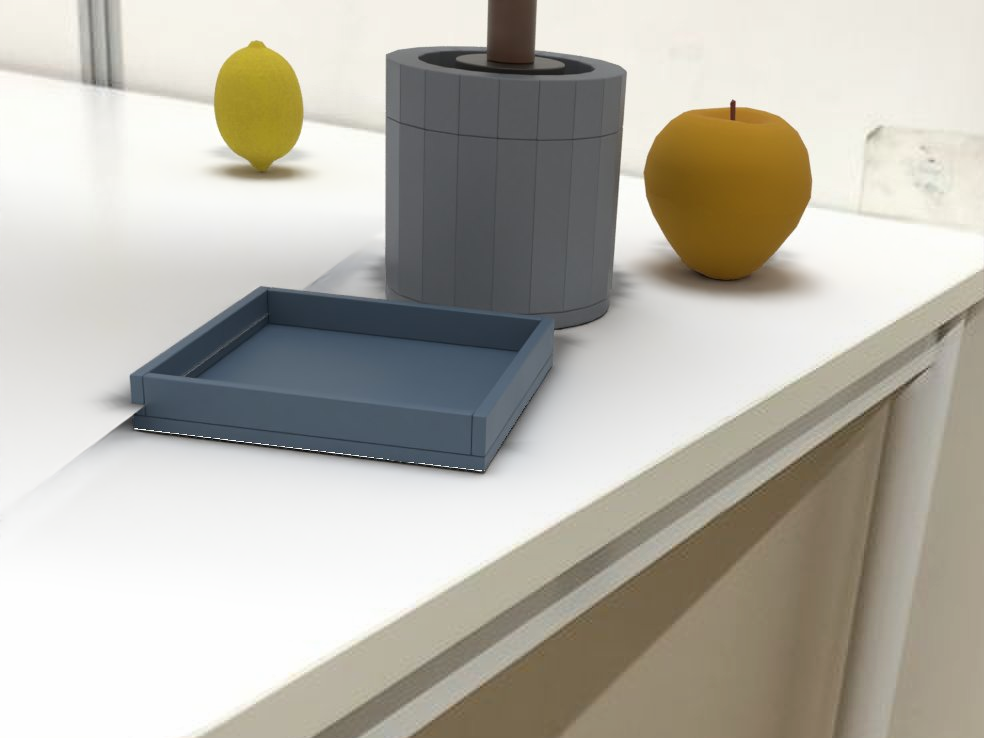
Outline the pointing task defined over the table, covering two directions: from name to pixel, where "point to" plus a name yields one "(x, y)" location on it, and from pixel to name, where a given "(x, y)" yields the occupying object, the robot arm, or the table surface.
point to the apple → (727, 187)
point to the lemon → (258, 105)
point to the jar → (502, 184)
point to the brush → (511, 42)
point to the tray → (350, 377)
